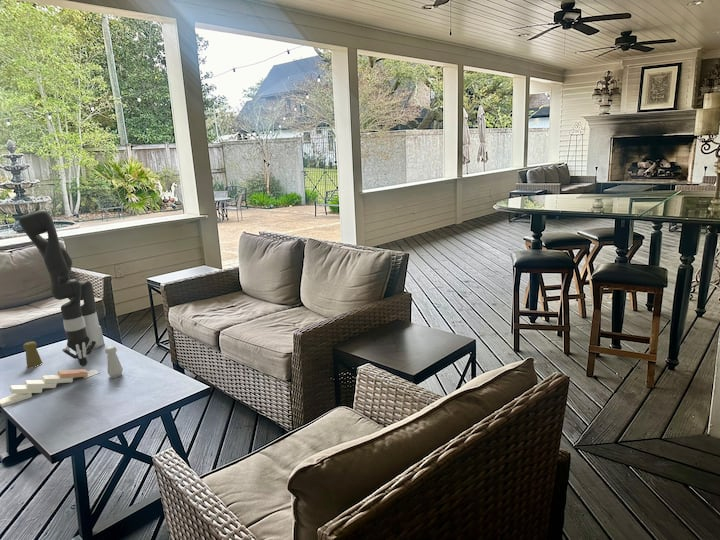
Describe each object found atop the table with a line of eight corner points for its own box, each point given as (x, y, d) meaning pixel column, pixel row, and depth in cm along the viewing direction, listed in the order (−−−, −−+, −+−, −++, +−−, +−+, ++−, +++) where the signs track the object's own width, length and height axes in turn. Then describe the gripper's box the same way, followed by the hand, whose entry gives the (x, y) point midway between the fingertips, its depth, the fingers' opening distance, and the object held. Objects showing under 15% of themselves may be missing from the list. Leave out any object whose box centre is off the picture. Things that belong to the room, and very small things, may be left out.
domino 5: (84, 369, 213) (58, 370, 206) (88, 372, 209) (61, 374, 202) (83, 373, 213) (57, 374, 206) (87, 376, 209) (60, 378, 202)
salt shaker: (126, 372, 211) (120, 344, 208) (118, 378, 206) (112, 349, 202) (113, 372, 212) (107, 344, 209) (105, 379, 206) (99, 350, 203)
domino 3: (54, 379, 205) (25, 380, 198) (56, 383, 201) (27, 384, 195) (53, 384, 205) (24, 384, 198) (55, 387, 201) (26, 388, 195)
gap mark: (94, 369, 216) (94, 369, 216) (99, 373, 212) (99, 372, 212) (79, 374, 212) (79, 374, 212) (84, 378, 208) (84, 378, 208)
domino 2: (39, 384, 202) (10, 385, 195) (42, 388, 198) (12, 389, 191) (39, 388, 202) (9, 389, 195) (41, 392, 198) (11, 393, 191)
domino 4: (70, 374, 209) (42, 375, 202) (73, 377, 205) (45, 379, 199) (69, 378, 209) (42, 379, 202) (72, 382, 205) (44, 383, 199)
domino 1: (28, 389, 198) (-2, 399, 192) (31, 393, 195) (1, 404, 188) (29, 393, 199) (-1, 404, 192) (32, 397, 196) (2, 408, 189)
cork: (28, 364, 228) (22, 341, 225) (43, 360, 230) (37, 338, 227) (25, 369, 222) (20, 346, 219) (41, 365, 225) (35, 343, 222)
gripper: (60, 334, 199) (69, 373, 203) (95, 324, 208) (103, 362, 212) (54, 330, 204) (63, 369, 208) (88, 320, 213) (96, 358, 217)
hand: (83, 365), depth 210 cm, fingers closed
